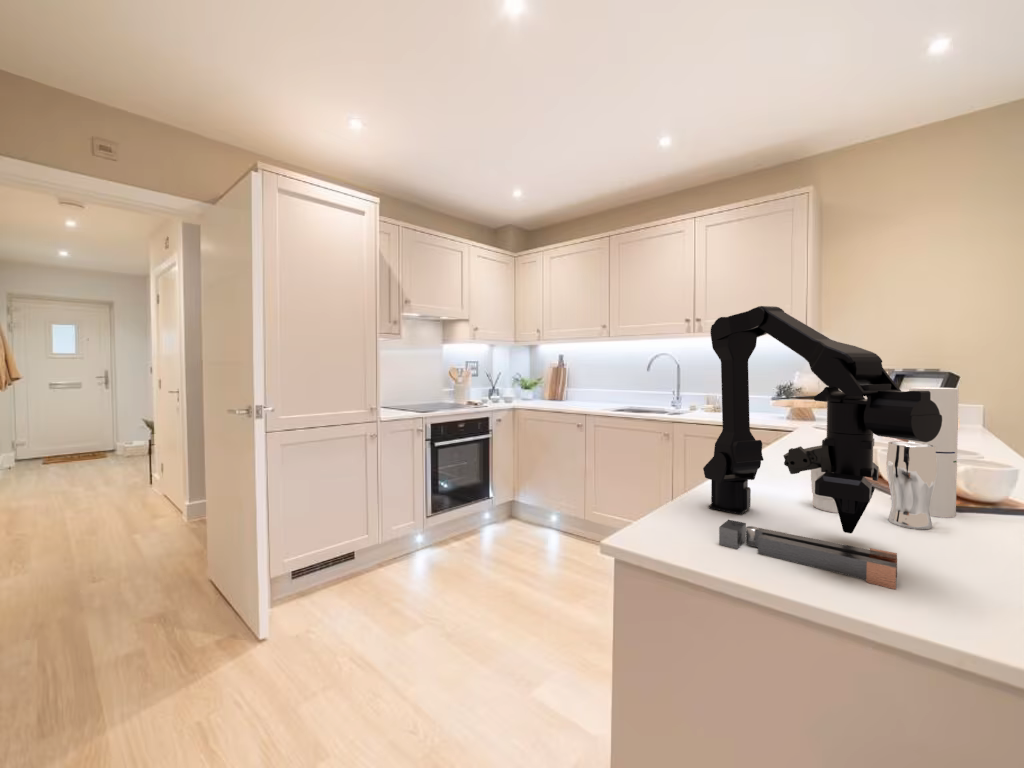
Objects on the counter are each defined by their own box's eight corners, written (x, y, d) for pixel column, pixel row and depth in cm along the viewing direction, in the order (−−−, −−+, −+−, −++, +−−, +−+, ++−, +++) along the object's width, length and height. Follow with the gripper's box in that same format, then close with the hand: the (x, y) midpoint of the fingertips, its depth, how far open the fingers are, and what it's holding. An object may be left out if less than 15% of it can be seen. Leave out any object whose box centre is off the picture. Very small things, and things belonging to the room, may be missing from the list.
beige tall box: (897, 507, 93) (899, 387, 92) (928, 505, 93) (931, 387, 92) (932, 518, 85) (935, 389, 85) (966, 517, 86) (969, 388, 85)
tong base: (718, 545, 73) (718, 527, 73) (728, 536, 77) (728, 519, 77) (895, 589, 58) (895, 566, 58) (897, 575, 62) (897, 554, 62)
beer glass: (945, 531, 78) (947, 447, 78) (900, 529, 80) (902, 446, 79) (918, 518, 85) (920, 441, 85) (877, 516, 87) (878, 440, 86)
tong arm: (744, 544, 73) (744, 528, 73) (748, 539, 75) (748, 524, 75) (896, 578, 61) (897, 559, 61) (896, 571, 63) (896, 553, 63)
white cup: (843, 516, 87) (844, 466, 87) (801, 506, 94) (802, 459, 94) (864, 510, 90) (865, 462, 90) (822, 500, 97) (823, 455, 97)
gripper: (800, 422, 80) (799, 507, 81) (775, 434, 67) (774, 536, 67) (879, 427, 73) (877, 521, 73) (870, 441, 59) (868, 557, 60)
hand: (847, 532), depth 69 cm, fingers closed
